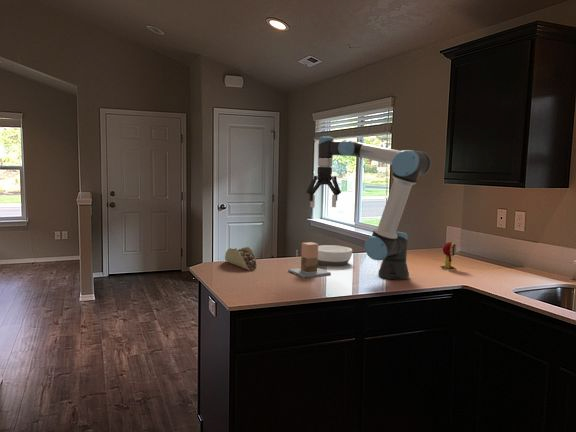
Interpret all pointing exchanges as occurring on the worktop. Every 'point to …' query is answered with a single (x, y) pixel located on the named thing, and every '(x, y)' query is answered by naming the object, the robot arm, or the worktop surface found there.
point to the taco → (242, 258)
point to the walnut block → (309, 264)
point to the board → (309, 274)
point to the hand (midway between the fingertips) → (323, 207)
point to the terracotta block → (309, 250)
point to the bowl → (333, 255)
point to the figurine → (448, 255)
